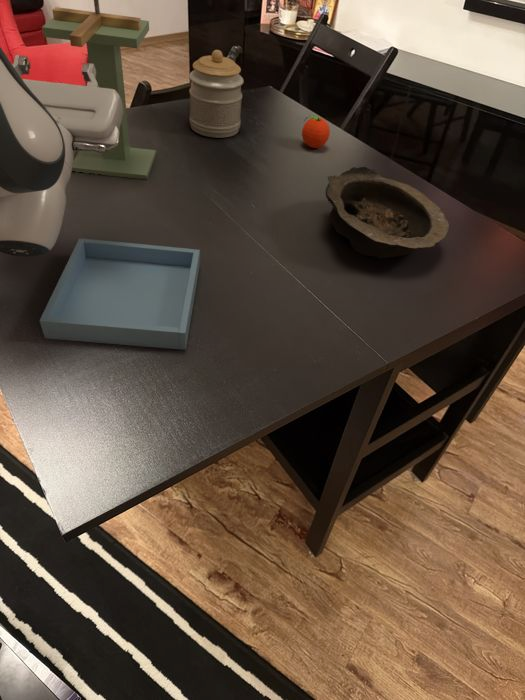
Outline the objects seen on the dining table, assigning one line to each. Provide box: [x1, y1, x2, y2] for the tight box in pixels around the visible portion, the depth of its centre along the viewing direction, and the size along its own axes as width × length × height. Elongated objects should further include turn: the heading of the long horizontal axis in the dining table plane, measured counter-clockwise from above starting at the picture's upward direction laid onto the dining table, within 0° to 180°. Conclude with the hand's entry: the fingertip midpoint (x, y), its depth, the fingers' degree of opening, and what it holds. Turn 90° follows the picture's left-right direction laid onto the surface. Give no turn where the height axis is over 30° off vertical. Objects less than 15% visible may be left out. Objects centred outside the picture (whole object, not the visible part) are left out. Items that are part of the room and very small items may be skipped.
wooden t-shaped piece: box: [51, 0, 142, 48], centre depth 80 cm, size 15×15×4 cm
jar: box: [188, 49, 245, 139], centre depth 116 cm, size 13×13×18 cm
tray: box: [39, 237, 201, 351], centre depth 75 cm, size 20×20×4 cm
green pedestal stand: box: [41, 17, 157, 181], centre depth 96 cm, size 16×12×26 cm
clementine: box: [301, 115, 331, 149], centre depth 119 cm, size 8×7×7 cm
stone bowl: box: [325, 166, 450, 259], centre depth 93 cm, size 25×25×9 cm
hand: (56, 62), depth 69 cm, fingers open, 8 cm apart
